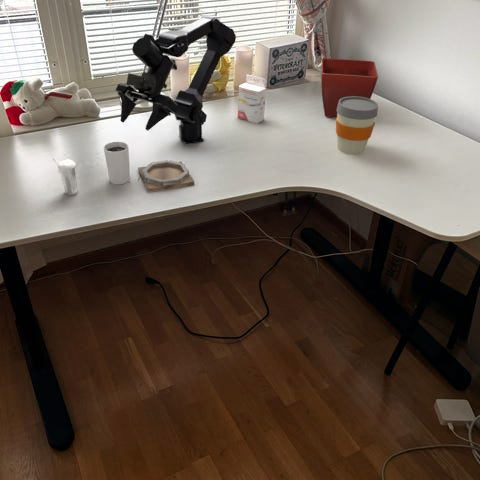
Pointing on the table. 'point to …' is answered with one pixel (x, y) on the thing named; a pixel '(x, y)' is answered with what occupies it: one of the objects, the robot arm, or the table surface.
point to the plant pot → (346, 81)
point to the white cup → (117, 162)
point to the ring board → (165, 175)
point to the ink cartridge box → (252, 99)
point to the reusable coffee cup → (355, 123)
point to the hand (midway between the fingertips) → (134, 125)
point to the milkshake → (68, 176)
